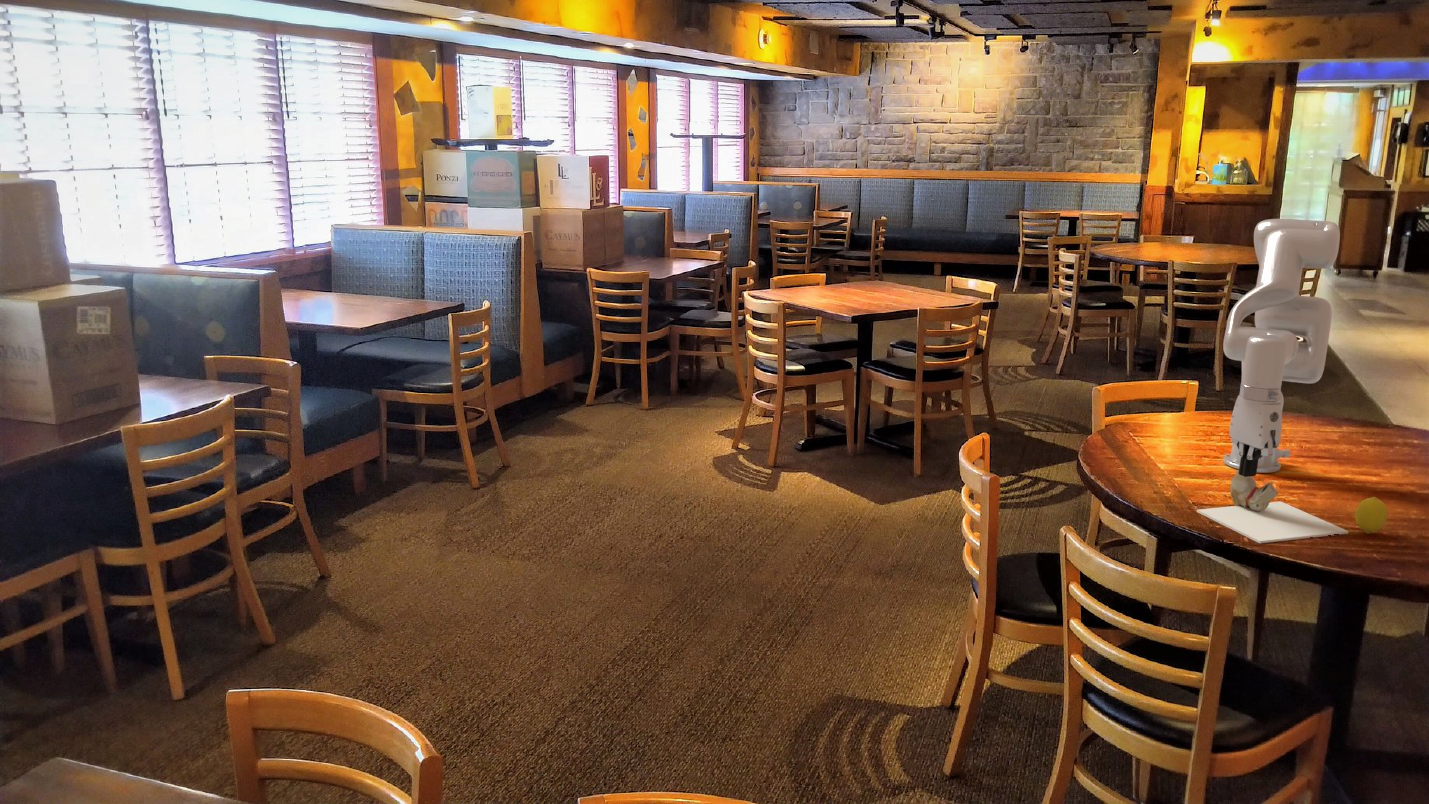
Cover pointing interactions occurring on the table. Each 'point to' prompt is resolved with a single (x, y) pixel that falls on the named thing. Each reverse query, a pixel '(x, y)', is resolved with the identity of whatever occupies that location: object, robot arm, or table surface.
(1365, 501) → the lemon
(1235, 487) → the chocolate bunny
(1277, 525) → the mat
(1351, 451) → the table surface
